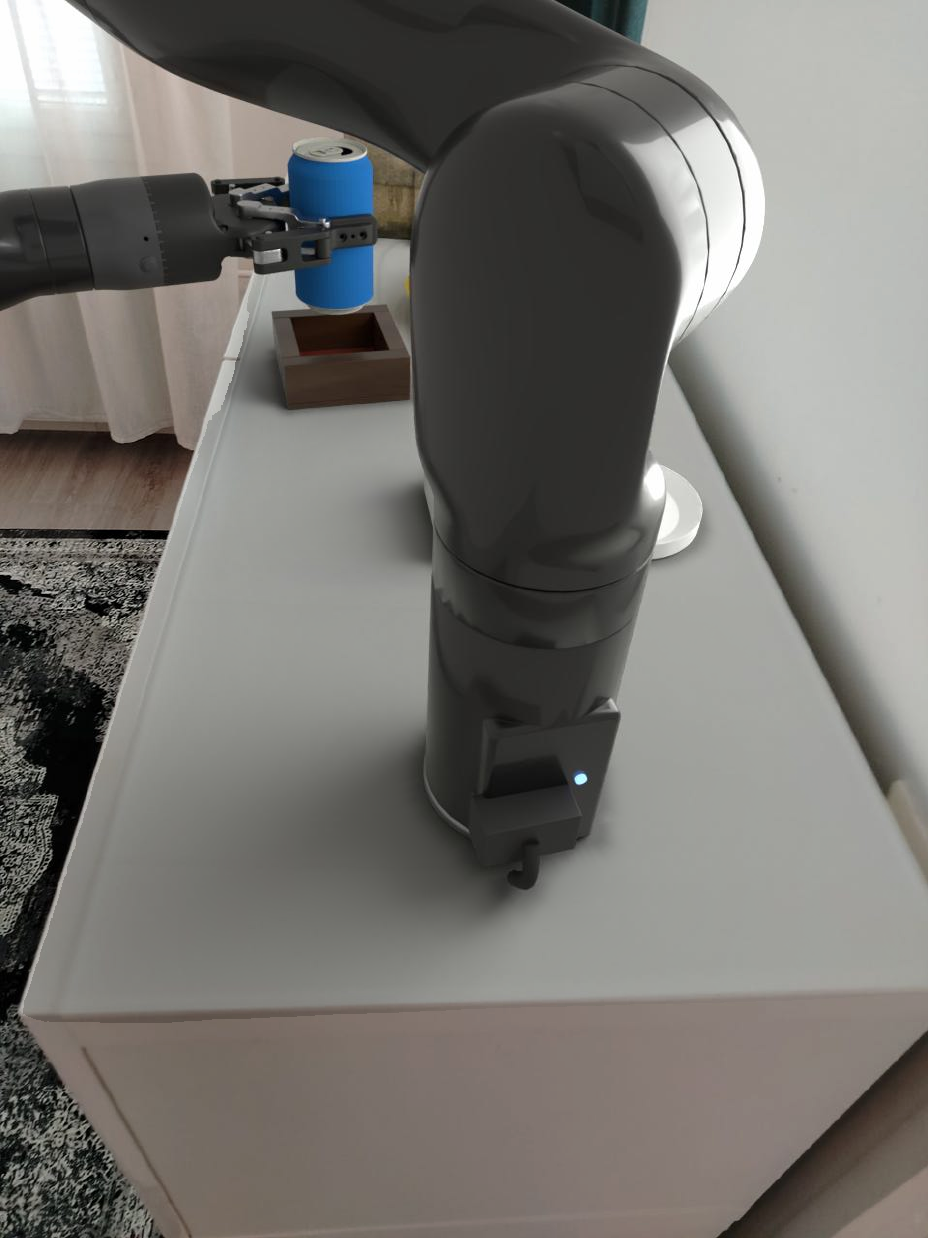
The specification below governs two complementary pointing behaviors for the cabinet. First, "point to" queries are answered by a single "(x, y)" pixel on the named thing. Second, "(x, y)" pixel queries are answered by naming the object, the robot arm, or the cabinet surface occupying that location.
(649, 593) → the cabinet surface
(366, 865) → the cabinet surface
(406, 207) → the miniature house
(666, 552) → the white flat rounded piece
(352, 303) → the beverage can
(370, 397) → the brown wooden open box
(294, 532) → the cabinet surface
